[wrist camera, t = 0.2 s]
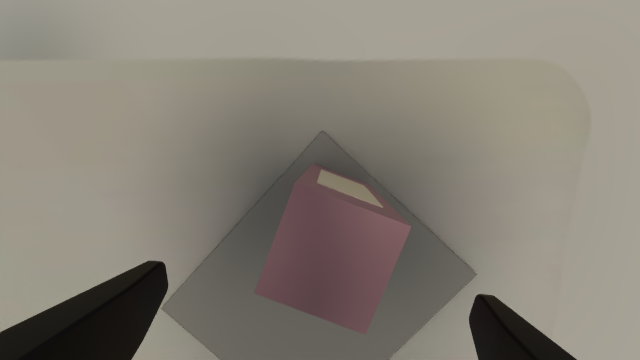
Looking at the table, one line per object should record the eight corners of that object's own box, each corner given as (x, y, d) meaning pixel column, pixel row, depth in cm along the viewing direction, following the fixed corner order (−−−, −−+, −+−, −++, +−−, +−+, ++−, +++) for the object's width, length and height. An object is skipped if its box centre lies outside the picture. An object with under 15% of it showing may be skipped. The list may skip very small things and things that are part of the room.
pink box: (347, 239, 24) (365, 335, 12) (291, 218, 24) (253, 293, 12) (369, 184, 23) (411, 225, 11) (312, 162, 23) (295, 181, 11)
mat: (309, 431, 26) (308, 435, 26) (163, 305, 25) (160, 308, 25) (474, 272, 24) (476, 274, 24) (322, 130, 23) (322, 130, 23)
